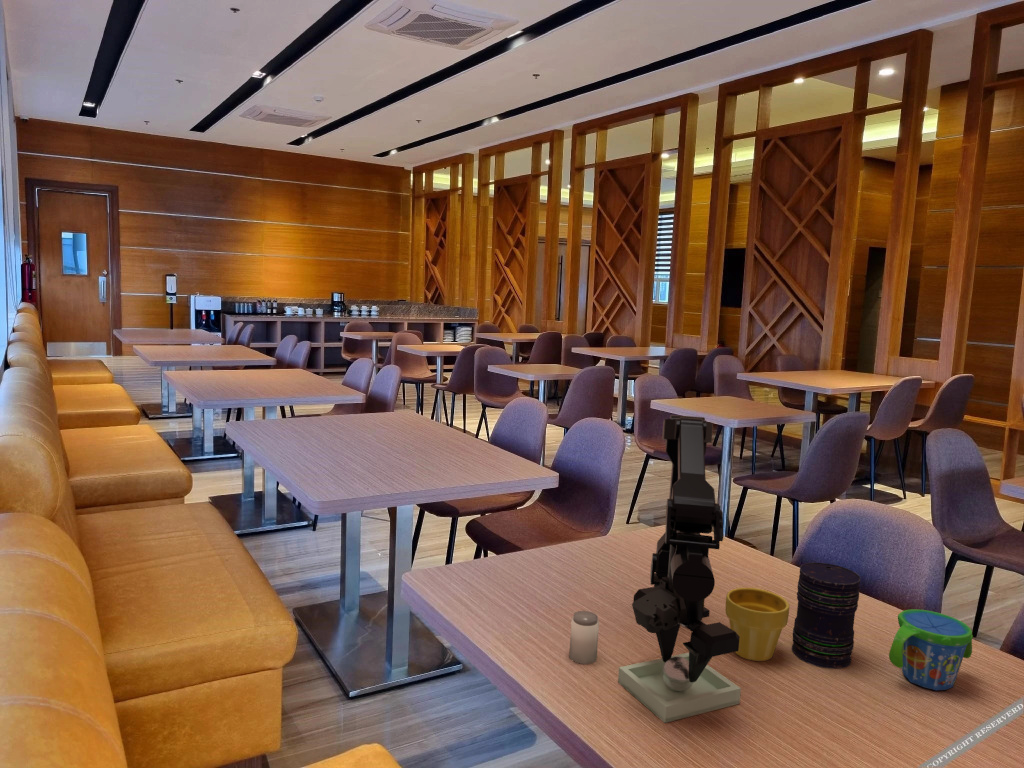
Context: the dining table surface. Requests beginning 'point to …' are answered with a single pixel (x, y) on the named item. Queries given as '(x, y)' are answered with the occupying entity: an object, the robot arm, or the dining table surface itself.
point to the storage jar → (825, 615)
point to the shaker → (584, 637)
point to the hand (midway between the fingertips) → (679, 671)
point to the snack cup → (930, 648)
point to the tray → (674, 704)
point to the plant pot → (756, 621)
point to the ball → (677, 674)
